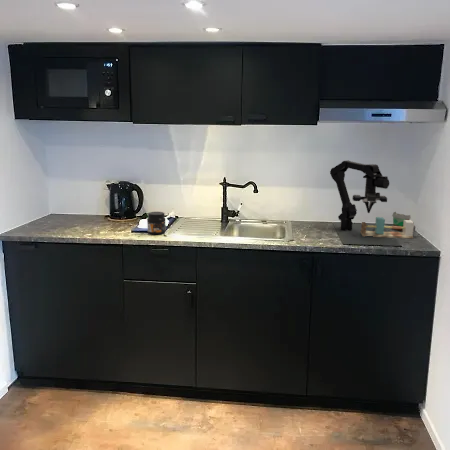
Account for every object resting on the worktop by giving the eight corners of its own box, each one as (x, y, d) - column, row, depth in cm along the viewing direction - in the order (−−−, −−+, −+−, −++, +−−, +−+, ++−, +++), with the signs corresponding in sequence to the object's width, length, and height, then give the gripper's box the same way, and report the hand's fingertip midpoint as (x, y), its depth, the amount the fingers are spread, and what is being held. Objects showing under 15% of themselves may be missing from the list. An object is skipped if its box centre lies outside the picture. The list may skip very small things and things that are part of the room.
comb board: (362, 236, 274) (363, 224, 273) (360, 232, 284) (361, 220, 282) (412, 238, 271) (414, 226, 269) (408, 234, 280) (409, 222, 279)
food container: (386, 228, 295) (388, 212, 293) (393, 227, 298) (395, 211, 296) (401, 232, 285) (403, 216, 282) (409, 231, 288) (410, 215, 285)
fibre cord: (364, 227, 277) (364, 225, 277) (364, 227, 279) (364, 224, 278) (405, 229, 274) (405, 226, 274) (405, 228, 276) (405, 226, 275)
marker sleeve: (376, 233, 275) (377, 219, 273) (374, 231, 281) (375, 217, 279) (383, 233, 274) (384, 219, 272) (381, 231, 280) (382, 217, 278)
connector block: (405, 235, 272) (406, 222, 271) (402, 233, 279) (403, 219, 277) (415, 236, 272) (416, 222, 270) (412, 233, 278) (413, 220, 277)
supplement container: (145, 235, 272) (144, 214, 269) (149, 230, 282) (149, 211, 279) (163, 235, 271) (163, 215, 268) (167, 231, 281) (167, 211, 278)
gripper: (355, 188, 266) (353, 215, 269) (390, 189, 263) (387, 216, 267) (353, 185, 276) (351, 211, 280) (386, 186, 274) (384, 212, 278)
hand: (368, 213), depth 276 cm, fingers closed
